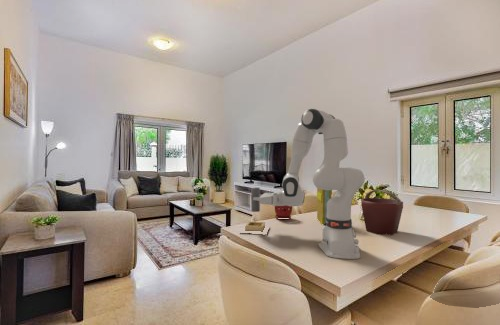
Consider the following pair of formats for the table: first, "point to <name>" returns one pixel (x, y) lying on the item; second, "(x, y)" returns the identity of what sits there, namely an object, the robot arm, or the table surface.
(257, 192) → the grey cylinder
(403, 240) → the table surface
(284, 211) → the plant pot
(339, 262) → the table surface
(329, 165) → the robot arm
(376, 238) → the table surface
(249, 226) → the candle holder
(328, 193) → the book
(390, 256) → the table surface
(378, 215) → the brown basket
